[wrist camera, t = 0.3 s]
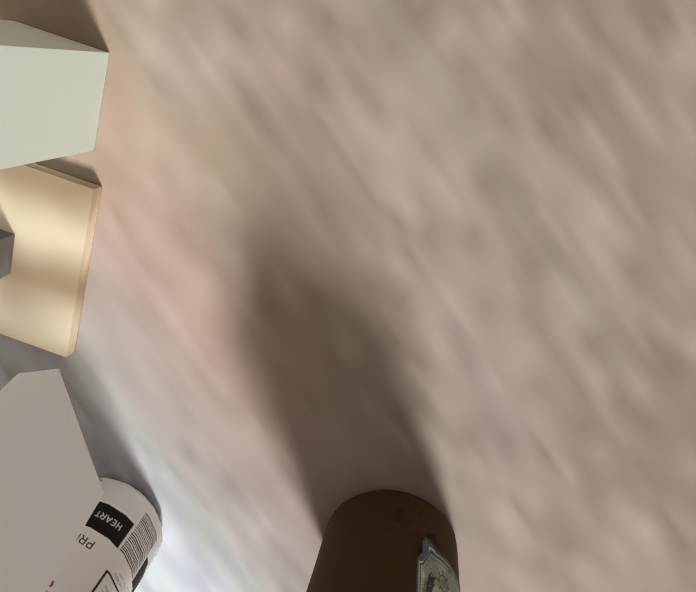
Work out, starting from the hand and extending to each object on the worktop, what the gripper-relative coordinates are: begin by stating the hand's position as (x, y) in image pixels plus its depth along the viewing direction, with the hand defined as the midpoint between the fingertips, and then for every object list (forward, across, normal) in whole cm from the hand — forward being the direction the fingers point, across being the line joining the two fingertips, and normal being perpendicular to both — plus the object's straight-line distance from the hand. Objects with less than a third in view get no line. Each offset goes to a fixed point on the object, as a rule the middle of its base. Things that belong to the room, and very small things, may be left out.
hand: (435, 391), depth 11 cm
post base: (+29, -26, -3) cm, 39 cm away
